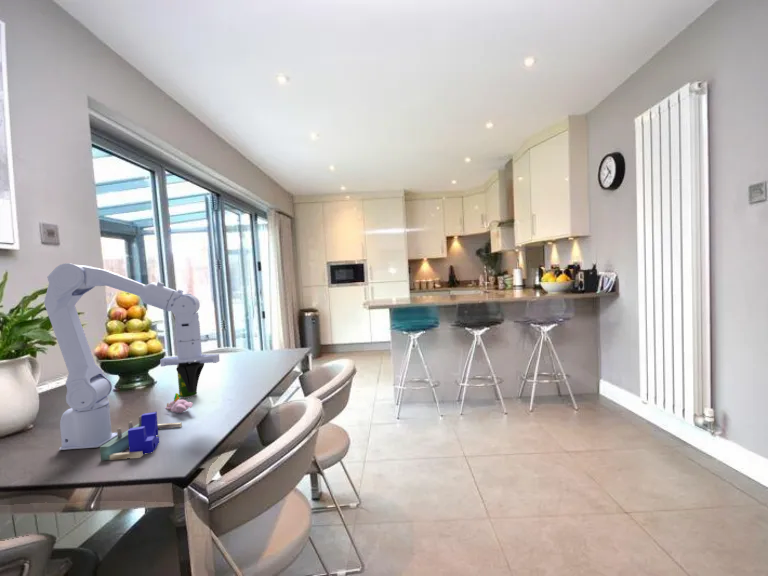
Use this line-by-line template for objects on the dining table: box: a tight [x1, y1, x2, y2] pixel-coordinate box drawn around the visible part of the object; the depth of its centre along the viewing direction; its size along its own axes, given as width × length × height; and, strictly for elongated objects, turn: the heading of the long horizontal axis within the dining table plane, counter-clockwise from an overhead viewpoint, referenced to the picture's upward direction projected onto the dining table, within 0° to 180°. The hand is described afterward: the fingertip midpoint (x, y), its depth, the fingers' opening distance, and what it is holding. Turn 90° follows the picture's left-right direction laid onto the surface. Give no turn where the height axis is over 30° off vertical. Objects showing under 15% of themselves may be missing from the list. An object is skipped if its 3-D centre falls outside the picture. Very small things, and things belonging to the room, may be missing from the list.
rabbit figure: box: [164, 392, 194, 414], centre depth 113 cm, size 6×6×15 cm
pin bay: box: [99, 415, 183, 461], centre depth 92 cm, size 8×18×5 cm, turn 1°
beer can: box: [176, 361, 198, 400], centre depth 129 cm, size 5×5×12 cm
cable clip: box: [127, 411, 160, 455], centre depth 91 cm, size 12×4×6 cm, turn 19°
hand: (192, 391), depth 100 cm, fingers closed
